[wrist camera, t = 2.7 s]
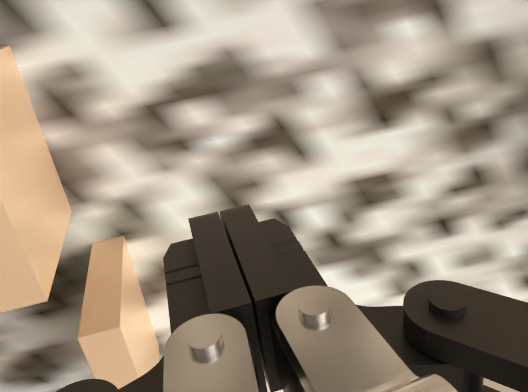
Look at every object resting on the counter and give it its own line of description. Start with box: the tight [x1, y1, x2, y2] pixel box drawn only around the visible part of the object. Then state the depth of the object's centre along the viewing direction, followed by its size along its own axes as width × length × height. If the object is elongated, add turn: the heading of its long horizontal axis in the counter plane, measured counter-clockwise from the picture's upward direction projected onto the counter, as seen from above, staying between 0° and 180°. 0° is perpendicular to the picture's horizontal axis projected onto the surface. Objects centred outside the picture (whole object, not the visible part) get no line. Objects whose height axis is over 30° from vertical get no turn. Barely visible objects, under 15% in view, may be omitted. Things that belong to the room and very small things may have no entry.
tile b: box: [77, 236, 160, 389], centre depth 22 cm, size 8×2×7 cm, turn 7°
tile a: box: [0, 45, 72, 313], centre depth 17 cm, size 8×2×7 cm, turn 7°
